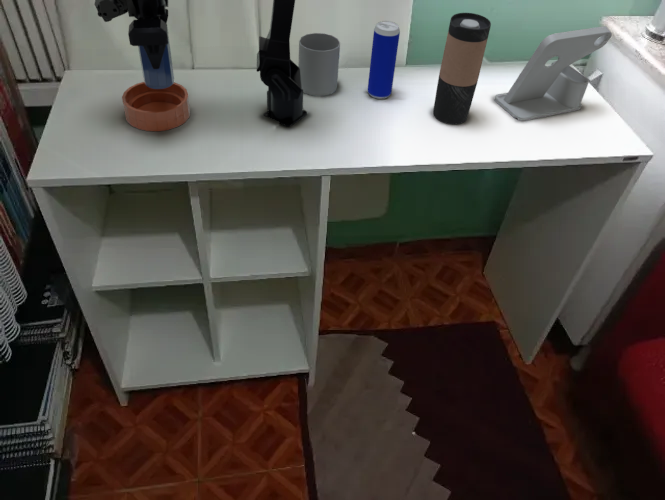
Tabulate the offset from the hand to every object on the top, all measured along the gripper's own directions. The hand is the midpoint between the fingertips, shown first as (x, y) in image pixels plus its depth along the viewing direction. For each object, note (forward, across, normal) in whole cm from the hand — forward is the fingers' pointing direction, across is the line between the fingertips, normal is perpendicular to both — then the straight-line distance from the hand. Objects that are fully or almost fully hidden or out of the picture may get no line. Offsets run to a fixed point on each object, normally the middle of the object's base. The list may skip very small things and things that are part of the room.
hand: (156, 60), depth 113 cm
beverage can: (+12, -4, +45) cm, 47 cm away
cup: (+12, -9, +32) cm, 35 cm away
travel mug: (+12, +6, +58) cm, 59 cm away
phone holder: (+12, +3, +79) cm, 80 cm away
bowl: (+11, 0, -1) cm, 11 cm away
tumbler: (+4, 0, 0) cm, 4 cm away
